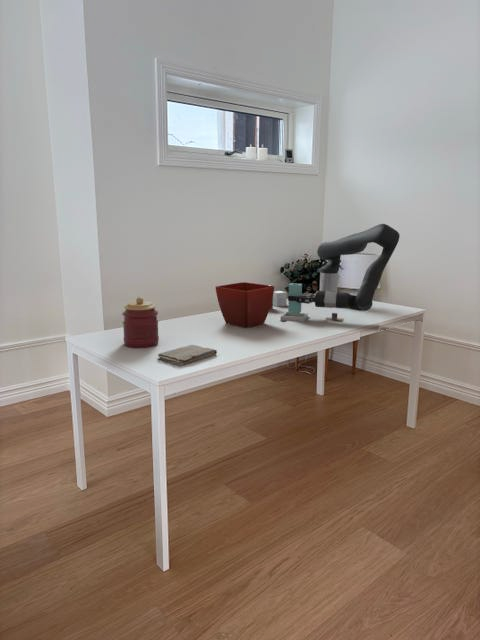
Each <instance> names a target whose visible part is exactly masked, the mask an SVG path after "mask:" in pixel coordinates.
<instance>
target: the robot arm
mask: <svg viewBox="0 0 480 640" xmlns="http://www.w3.org/2000/svg"><path fill="white" fill-rule="evenodd" d="M399 241H400V233H399V231H398V230H396V229H394V228H393V227H392V226H390V225H388V224H386V223H380V224H379V223H378V224H377V225H375V226H373V227H370V228H368V229H366V230H364V231H361V232H358V233H357V232H356V233H353V234H350V235H347V236H345V237H341V238H339V239H336V240H333V241H328V242H322V243H320V245H319V246H318V247H317V251H316V252H317V253H316V254H317V256H318V258H319V259H321V260H324V261H327V262H326V263H325V264H324V265H322V266H321V267H320V269H319V271H320V273H319V290H316V292H315V293H313V292H312V293H311V292H310V293H303V292H302V295H301V296H289V295H287V301H288V302H289V301H296V302H297V303H301V304H312V303H314V306H315V307H316V308H325V309H326V308H327V309H328V308H329V309H334V308H335V309H349V310H355V311H359V312H366V311H369V310H370V309H372V307H373V300H374V295H375V292H376V291H377V289H378V287H379V284H380V281H381V279H382V276H383V273H384V270H385V269H386V266H387V264H388V262H389V260H390V259H391V257H392V255H393V253H394V252H395V249H396V247H397V245H398V243H399ZM371 243H374V244H377V245H378V246H380V247H382V250H381V254H380V255H379V257H378V258H377V259H376V260H375V261H373V262H372V263H371V264H370V265H369V266H368V267H367V268H366V271H365V273H364V276H363V279H362V282H361V285H360V287H359V289H358V291H357V293H356V295H355V294H350V293H349V292H345V291H338V278H339V277H338V275H339V269H340V264H341V258H342V257H341V256H346V255H347V256H348V255H354V254H355V255H356V254H359V253H361V252H363V251H364V250H365V249H366V248H367V246H368V244H371ZM299 298H301V300H299Z"/></svg>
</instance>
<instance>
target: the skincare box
mask: <svg viewBox="0 0 480 640" xmlns="http://www.w3.org/2000/svg"><path fill="white" fill-rule="evenodd" d="M287 301H288V292H286V291H282V290H276V291H275V290H274V293H273V307H279V308H280V307H287V306H288V304H287Z"/></svg>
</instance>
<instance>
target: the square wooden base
mask: <svg viewBox="0 0 480 640" xmlns="http://www.w3.org/2000/svg"><path fill="white" fill-rule="evenodd" d="M344 320H345V318H340V317H339V318H338V312H332V313H331V317H326V318H325V319H324V322H330V323H331V322H332V323H343V322H344Z"/></svg>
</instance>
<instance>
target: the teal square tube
mask: <svg viewBox="0 0 480 640" xmlns="http://www.w3.org/2000/svg"><path fill="white" fill-rule="evenodd" d="M302 293H303V283H295V282H294V283H293V282H292V283H289V284H288V296H301V295H302ZM299 300H301V298H299ZM287 306H288V311H287V312H288V313H298V314H299V313H302V303H297V302H296V301H288V304H287Z"/></svg>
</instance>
